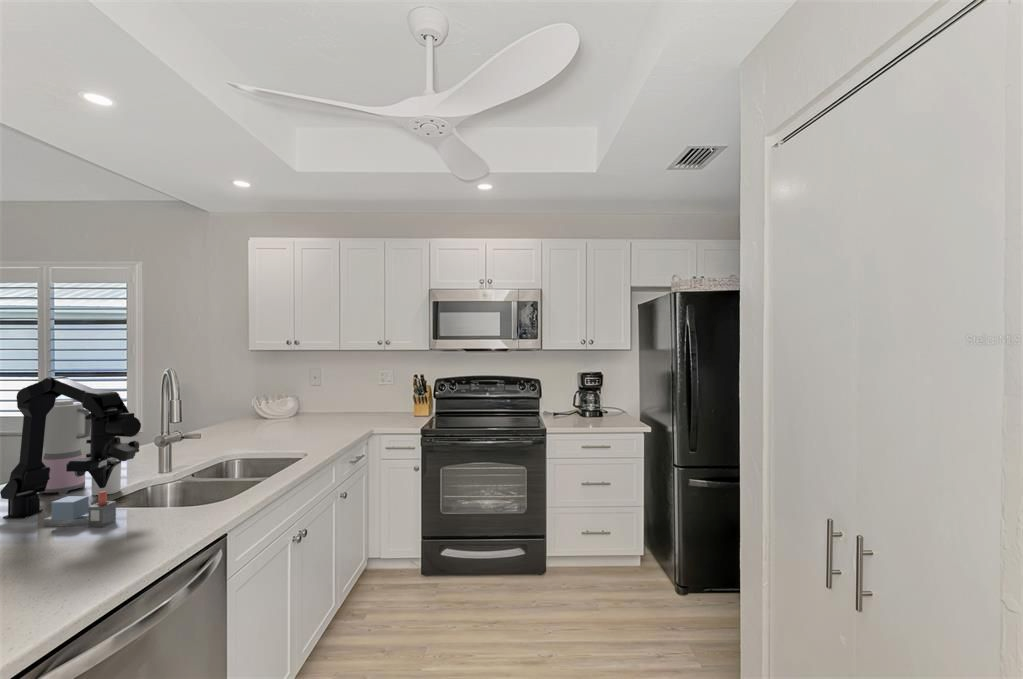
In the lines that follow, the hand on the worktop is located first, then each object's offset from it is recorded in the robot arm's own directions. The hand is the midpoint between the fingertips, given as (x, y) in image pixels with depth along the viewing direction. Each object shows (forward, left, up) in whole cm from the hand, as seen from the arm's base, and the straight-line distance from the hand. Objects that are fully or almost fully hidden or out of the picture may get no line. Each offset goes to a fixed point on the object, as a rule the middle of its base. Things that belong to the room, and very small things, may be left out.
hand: (102, 487), depth 144 cm
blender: (-36, +31, -11) cm, 49 cm away
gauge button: (0, 0, -6) cm, 6 cm away
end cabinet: (0, 0, -11) cm, 11 cm away
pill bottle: (-21, +29, -11) cm, 38 cm away
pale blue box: (-9, 0, -8) cm, 12 cm away
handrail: (-9, 0, -11) cm, 14 cm away
